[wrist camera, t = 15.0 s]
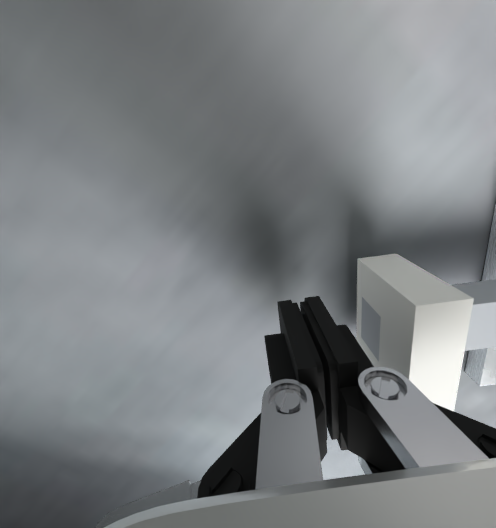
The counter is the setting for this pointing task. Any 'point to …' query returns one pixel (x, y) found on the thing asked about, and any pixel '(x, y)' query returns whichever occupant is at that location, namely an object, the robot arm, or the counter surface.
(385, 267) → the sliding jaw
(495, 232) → the vise
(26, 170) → the counter surface
